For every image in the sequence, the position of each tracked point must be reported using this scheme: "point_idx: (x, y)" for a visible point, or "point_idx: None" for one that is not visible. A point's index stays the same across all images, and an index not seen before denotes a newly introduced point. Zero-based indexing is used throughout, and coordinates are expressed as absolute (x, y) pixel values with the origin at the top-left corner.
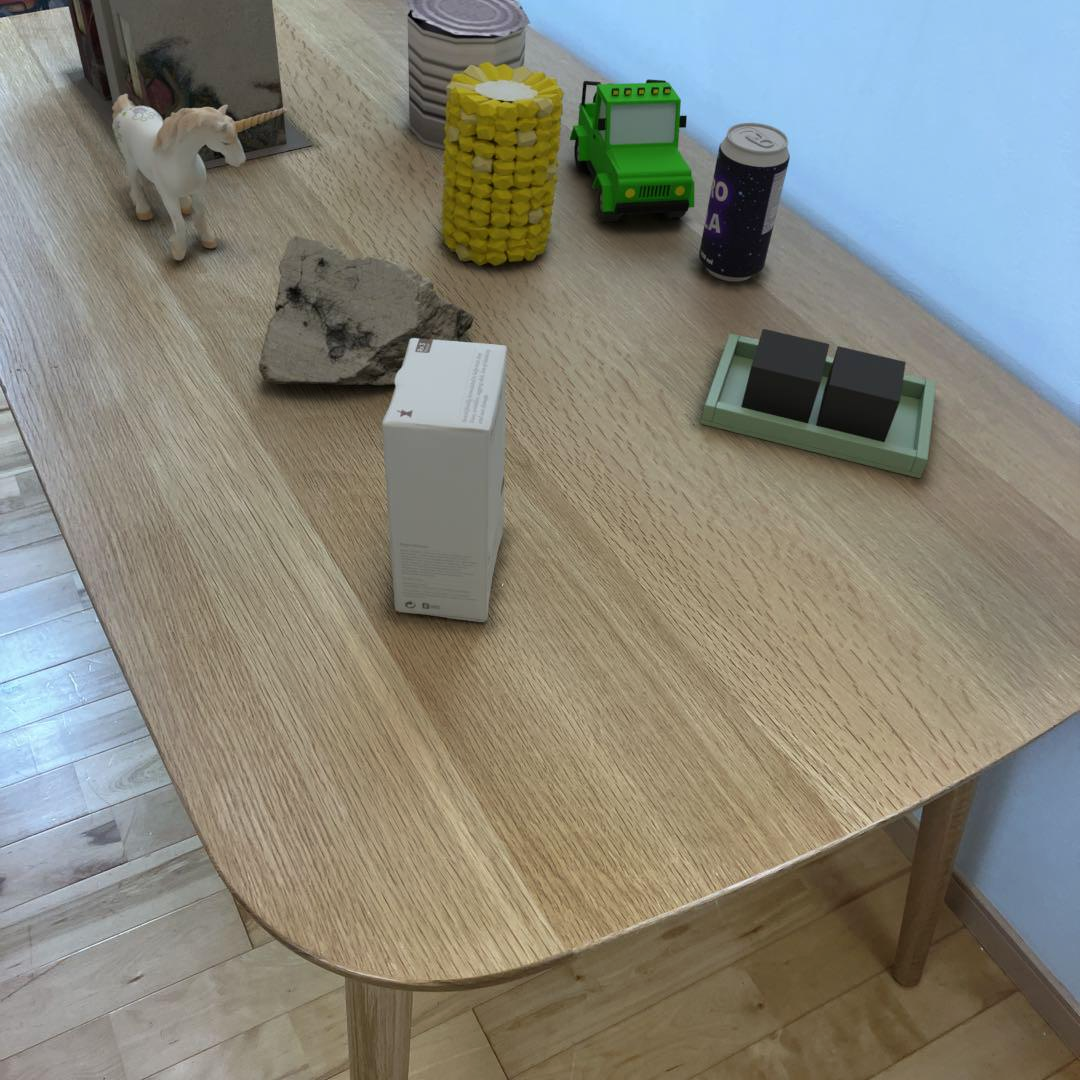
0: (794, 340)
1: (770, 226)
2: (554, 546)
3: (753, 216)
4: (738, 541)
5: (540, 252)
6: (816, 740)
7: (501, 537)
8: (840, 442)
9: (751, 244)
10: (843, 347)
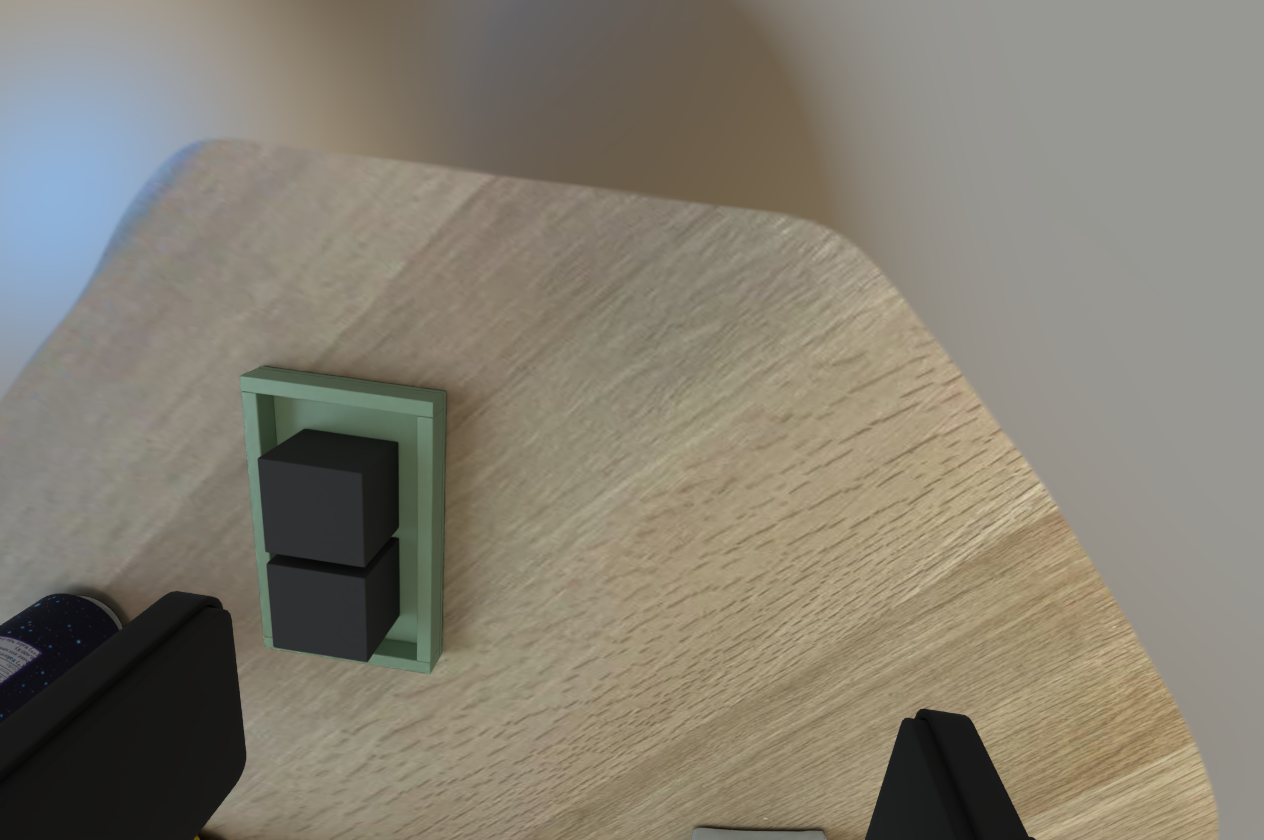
0: (281, 609)
1: (17, 647)
2: (698, 781)
3: (25, 693)
4: (639, 610)
5: (195, 837)
6: (934, 533)
7: (703, 829)
8: (434, 512)
9: (64, 653)
10: (265, 545)
